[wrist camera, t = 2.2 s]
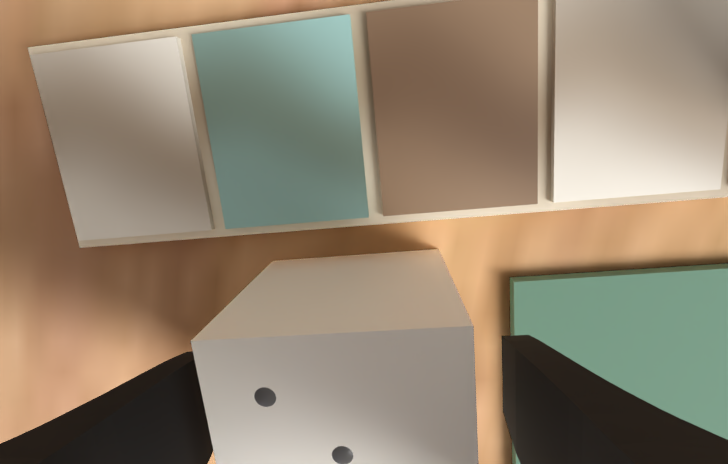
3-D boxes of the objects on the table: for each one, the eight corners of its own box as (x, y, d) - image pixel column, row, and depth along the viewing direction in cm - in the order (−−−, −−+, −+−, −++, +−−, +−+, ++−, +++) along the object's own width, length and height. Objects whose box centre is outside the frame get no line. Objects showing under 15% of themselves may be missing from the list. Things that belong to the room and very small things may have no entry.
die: (446, 397, 12) (482, 562, 8) (294, 403, 13) (235, 562, 8) (438, 248, 11) (473, 326, 6) (273, 260, 12) (189, 342, 7)
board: (883, 180, 10) (925, 183, 9) (95, 242, 12) (74, 249, 11) (930, -61, 9) (981, -80, 8) (47, 52, 11) (20, 45, 10)
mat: (800, 523, 12) (813, 535, 12) (513, 526, 13) (516, 538, 13) (849, 255, 10) (866, 259, 10) (509, 277, 11) (513, 281, 11)
